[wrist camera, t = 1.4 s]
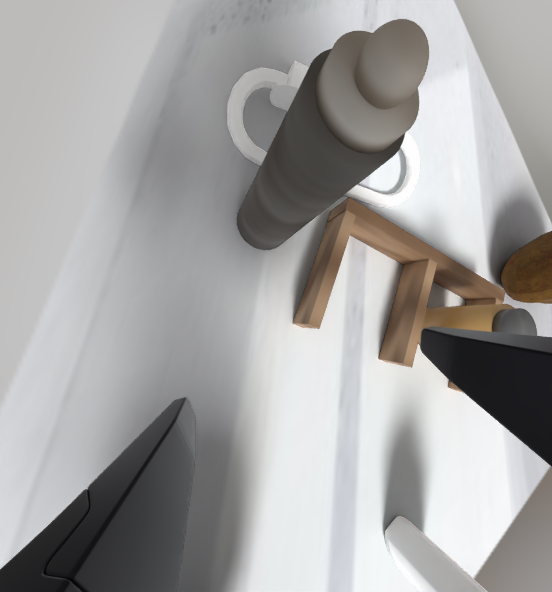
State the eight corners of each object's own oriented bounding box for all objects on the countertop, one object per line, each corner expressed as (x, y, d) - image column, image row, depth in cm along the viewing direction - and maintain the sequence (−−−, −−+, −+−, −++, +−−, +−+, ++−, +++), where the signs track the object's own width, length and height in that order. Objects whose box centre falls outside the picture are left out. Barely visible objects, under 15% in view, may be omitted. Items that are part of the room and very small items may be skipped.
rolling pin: (216, 159, 23) (220, 143, 20) (234, 63, 22) (241, 27, 19) (394, 218, 30) (421, 214, 26) (413, 144, 29) (444, 129, 25)
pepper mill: (278, 258, 22) (457, 141, 8) (228, 234, 21) (327, 39, 6) (295, 212, 23) (485, 29, 9) (248, 187, 22) (376, -80, 7)
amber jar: (439, 355, 28) (535, 369, 20) (409, 341, 26) (498, 350, 19) (448, 316, 28) (543, 315, 21) (418, 301, 27) (508, 294, 20)
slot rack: (455, 390, 28) (486, 398, 25) (291, 322, 22) (307, 323, 19) (475, 294, 30) (505, 291, 27) (330, 211, 25) (349, 196, 22)
